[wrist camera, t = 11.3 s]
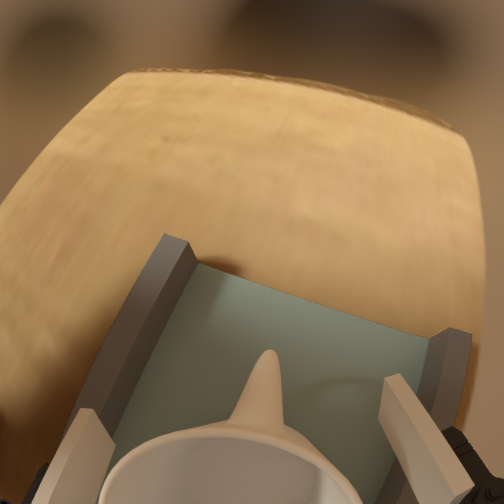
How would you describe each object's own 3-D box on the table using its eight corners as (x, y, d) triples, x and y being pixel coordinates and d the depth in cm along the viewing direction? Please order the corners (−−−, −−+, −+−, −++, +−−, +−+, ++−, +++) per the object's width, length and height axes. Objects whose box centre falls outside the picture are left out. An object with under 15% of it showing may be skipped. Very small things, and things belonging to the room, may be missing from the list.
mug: (340, 374, 17) (407, 334, 8) (305, 537, 12) (327, 629, 3) (209, 354, 19) (144, 296, 10) (175, 513, 13) (91, 577, 4)
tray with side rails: (335, 597, 8) (343, 619, 5) (69, 489, 14) (41, 494, 11) (446, 347, 18) (472, 334, 15) (178, 258, 23) (164, 233, 20)
